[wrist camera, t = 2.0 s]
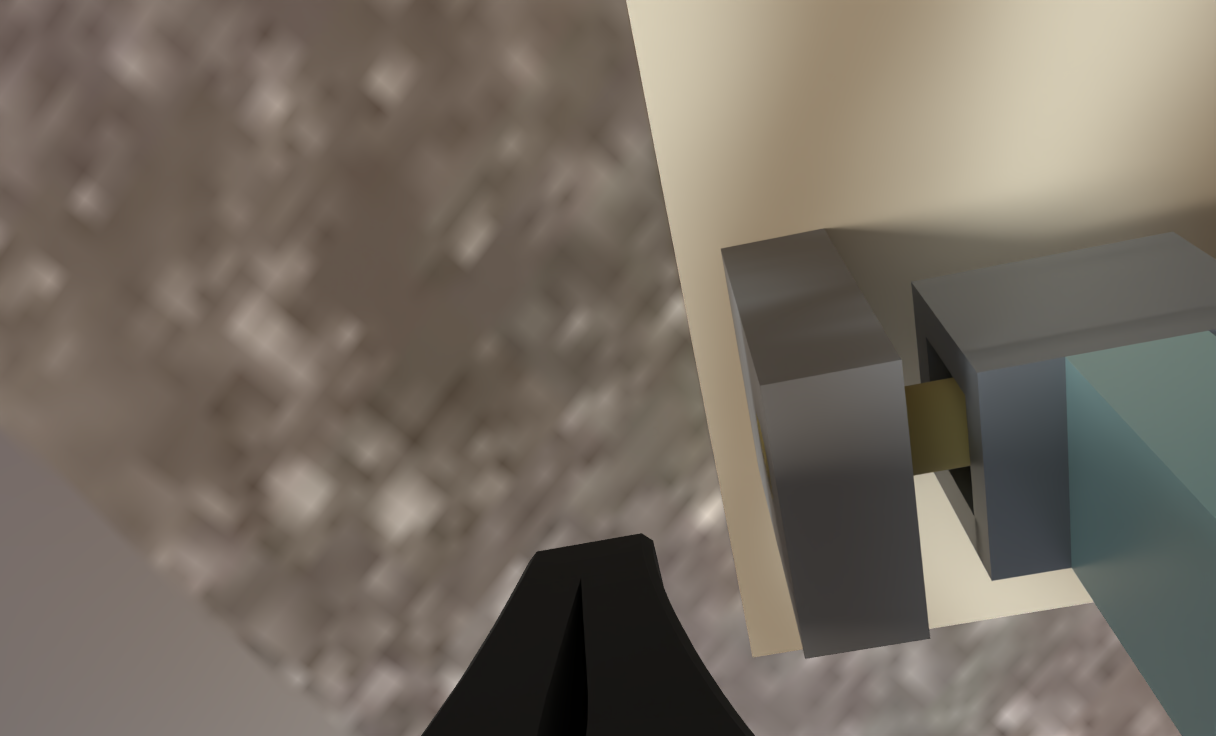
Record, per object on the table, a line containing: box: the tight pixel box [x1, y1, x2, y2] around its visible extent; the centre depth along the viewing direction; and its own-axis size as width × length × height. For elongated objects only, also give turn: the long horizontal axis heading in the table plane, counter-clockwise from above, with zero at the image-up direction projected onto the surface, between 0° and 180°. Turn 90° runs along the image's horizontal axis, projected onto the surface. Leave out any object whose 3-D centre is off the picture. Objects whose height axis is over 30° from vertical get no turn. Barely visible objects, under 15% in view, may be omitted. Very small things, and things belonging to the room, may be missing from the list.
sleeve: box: [911, 232, 1216, 736], centre depth 13 cm, size 4×3×6 cm
